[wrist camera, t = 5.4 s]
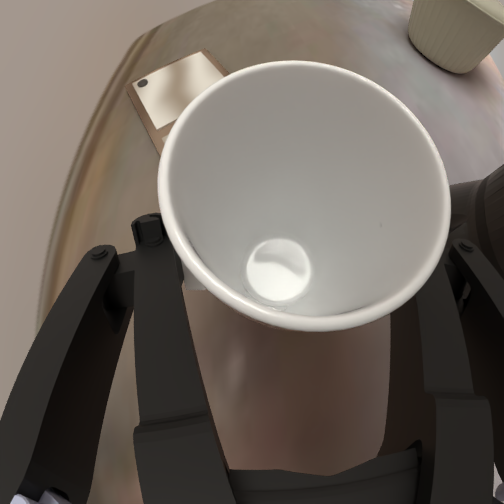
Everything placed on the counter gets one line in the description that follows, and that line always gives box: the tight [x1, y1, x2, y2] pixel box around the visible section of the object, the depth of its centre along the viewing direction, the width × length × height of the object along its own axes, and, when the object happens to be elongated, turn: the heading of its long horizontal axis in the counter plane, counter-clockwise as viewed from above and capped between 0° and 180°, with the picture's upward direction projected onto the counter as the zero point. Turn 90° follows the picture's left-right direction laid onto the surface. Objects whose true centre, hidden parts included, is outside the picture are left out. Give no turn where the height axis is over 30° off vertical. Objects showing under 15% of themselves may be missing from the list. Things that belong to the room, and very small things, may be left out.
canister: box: [408, 0, 504, 74], centre depth 24 cm, size 18×18×21 cm
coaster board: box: [125, 48, 230, 156], centre depth 30 cm, size 12×23×2 cm, turn 31°
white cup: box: [158, 61, 451, 332], centre depth 13 cm, size 7×7×15 cm
